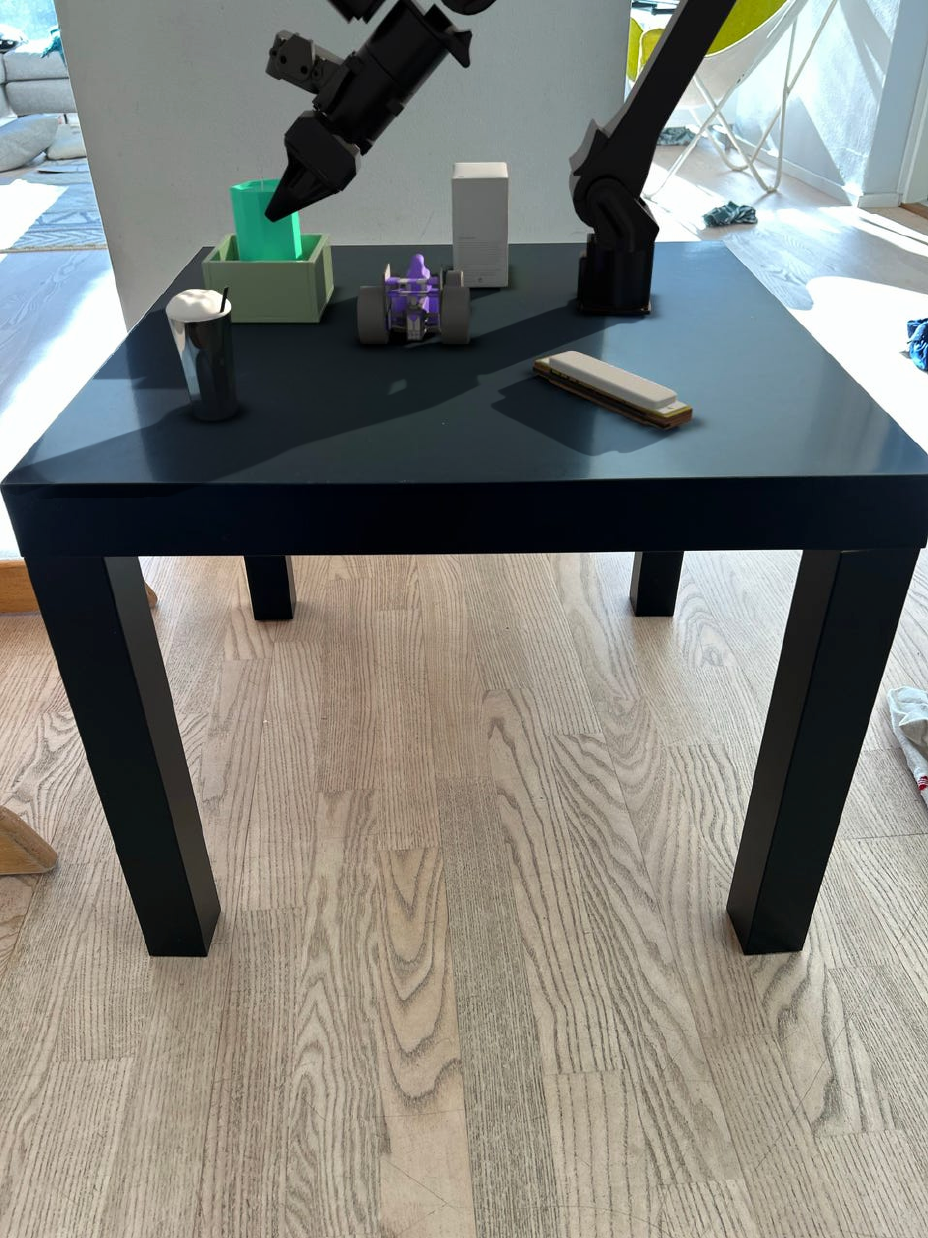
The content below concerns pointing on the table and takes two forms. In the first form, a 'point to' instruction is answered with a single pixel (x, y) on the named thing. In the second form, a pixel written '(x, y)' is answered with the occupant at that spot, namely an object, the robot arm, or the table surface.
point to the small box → (480, 223)
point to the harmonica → (614, 389)
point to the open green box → (273, 282)
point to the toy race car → (415, 306)
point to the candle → (263, 224)
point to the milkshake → (205, 350)
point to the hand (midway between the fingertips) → (277, 205)
